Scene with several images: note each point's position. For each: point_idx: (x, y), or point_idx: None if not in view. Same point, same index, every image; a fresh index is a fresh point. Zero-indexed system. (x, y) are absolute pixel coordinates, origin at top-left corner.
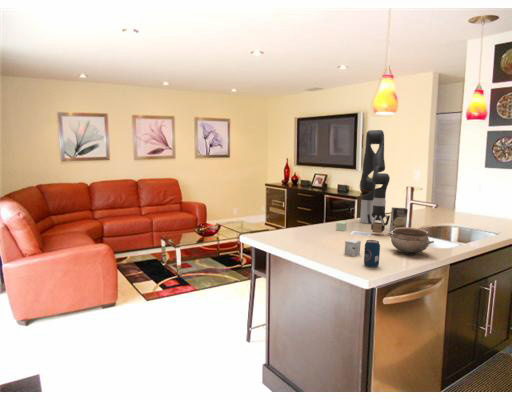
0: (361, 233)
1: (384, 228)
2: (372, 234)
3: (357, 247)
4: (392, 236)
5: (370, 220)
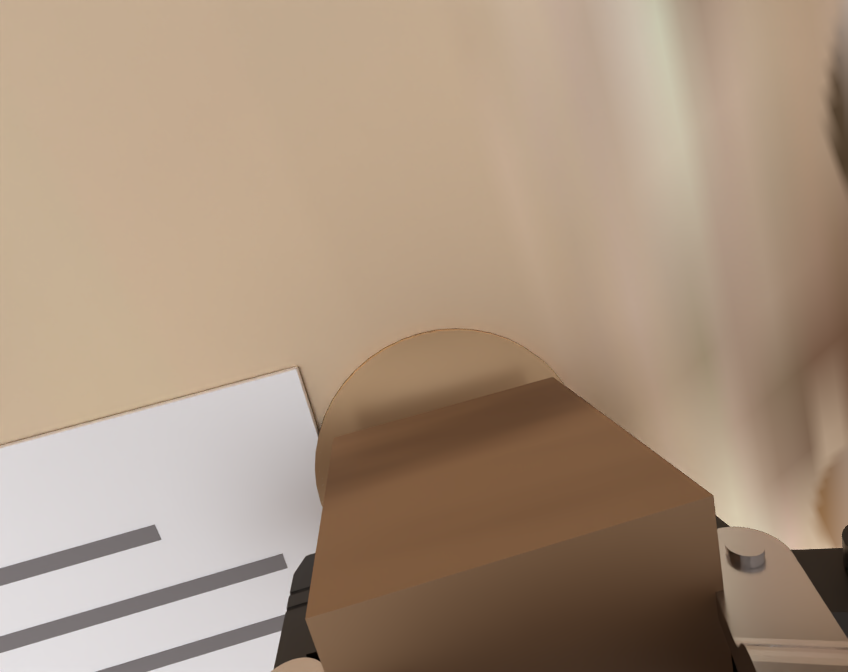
0: (136, 601)
1: None
2: None
3: None
4: None
5: None
